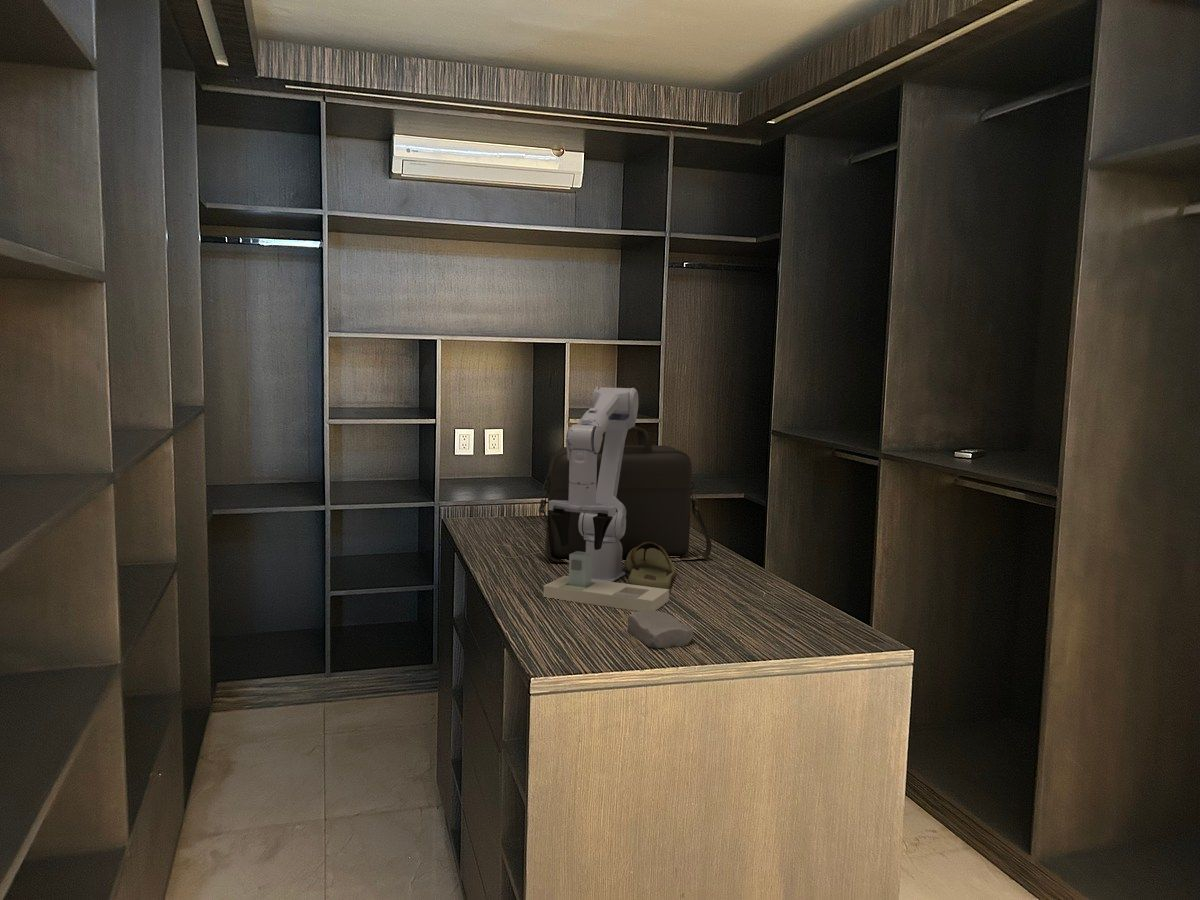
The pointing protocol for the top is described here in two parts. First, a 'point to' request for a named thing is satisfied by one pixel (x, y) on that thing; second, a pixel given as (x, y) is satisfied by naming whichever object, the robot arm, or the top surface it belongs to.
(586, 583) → the plug
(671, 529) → the laptop bag
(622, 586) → the jack block
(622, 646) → the top surface
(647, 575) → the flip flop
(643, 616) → the stone block
